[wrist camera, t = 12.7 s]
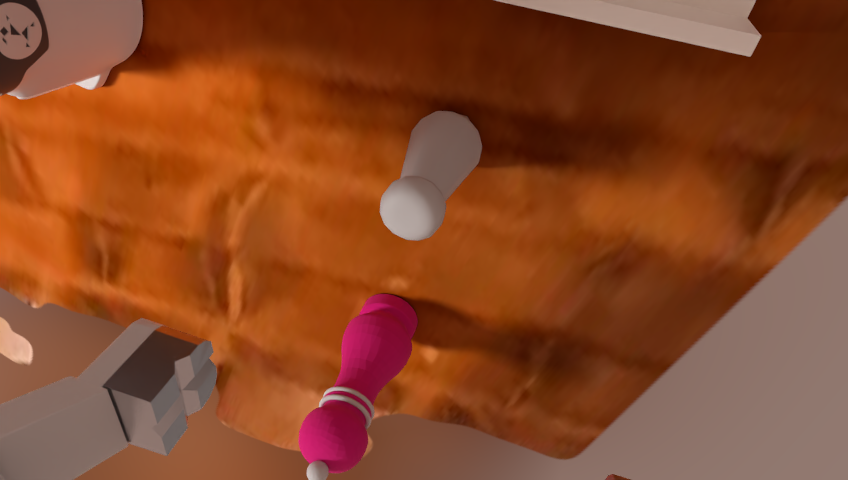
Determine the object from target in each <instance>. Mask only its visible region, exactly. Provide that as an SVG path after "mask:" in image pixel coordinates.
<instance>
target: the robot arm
mask: <svg viewBox="0 0 848 480" xmlns="http://www.w3.org/2000/svg"><path fill="white" fill-rule="evenodd" d="M142 27H143V9H142V1H141V0H0V96H2V95H4V94H9V95H12V96H16V97H17V98H19V99H29V98H33V97H36V96H39V95H42V94H45V93H48V92H51V91H54V90H57V89H60V88H63V87H66V86H69V85H72V84H77V85H79V86H81V87H83V88H86V89H89V90H92V89H96V88H99V87H101V86H103V85H104V83H105V81H106V80H107V77H108V75H109V72H110V70H111V69H112V68H113V67H114V66H116V65H118V64H119V63H121V62H123V61H125V60H126V59H127V58H128V57H130V56H131V54H132V53H133V52H134V50H135V49H136V47H137V45H138V43H139V40H140V37H141V33H142ZM212 353H213V348H212V344H211V341H208V340H205V339H202V338H199V337H196V336H193V335H190V334H187V333H184V332H181V331H178V330H175V329H172V328H169V327H167V326H165V325H161V324H158V323H155V322H152V321H149V320H146V319H143V318H141V319H139V320H137V321H135V322H133V323H132V324H131V325H130V326H129V327H128V328H127V329H126V330H125V331H124V332H123V333H122V334H120V335H119V336H118V338H117V339H115V340H114V341H113V342H112V343H111V344H110V345H109V346H108V347H107V348H106V349H105V350H104V351H103V352H102V353H101V354H100V355H99V356H98V357H97V358H96V359H95V360H94V361H93V362H92V363H91V364H90V365H89V366H88V367H87V368H86V369H85V370H84V371H83V372H82V373H81V374H80V375H79V376H78V377H77V378H75V377H72V376H69V377H66V378H64V379H61V380H59V381H57V382H55V383H52V384H49V385H47V386H45V387H42V388H40V389H37V390H35V391H32V392H30V393H27V394H25V395H22V396H20V397H18V398H15V399H13V400H10V401H8V402H5V403H3V404H1V405H0V480H73V479H75V478H77V477H78V476H80V475H81V474H83V473H85V472H86V471H88V470H89V469H91V468H93V467H95V466H96V465H98V464H99V463H101V462H103V461H104V460H106V459H108V458H109V457H111V456H113V455H114V454H116V453H117V452H119V451H121V450H122V449H124V448H126V447H127V446H128V443H129V444H132V445H136V446H138V447H141V448H144V449H147V450H150V451H153V452H156V453H160V454H162V455H165V456H167V455H168V454H169V453H170V451H171V450H172V448H173V447H174V446H175V444H176V443H177V442H178V440H179V439H180V438H181V436H182V435H183V434H184V432H185V431H186V429H187V428H188V416H189V415H191V414H193V413H195V412H197V411H199V410H201V409H202V407H203V406H204V404H205V403H206V402H207V400H208V399H209V397H210V395H211V393H212V390H213V388H214V386H215V383H216V376H217V372H216V366H215V365H214V363H213V362H212V361H211V360H210V359H209V357H210V356H211V355H212ZM605 480H630V479H627V478H623V477H621V476H617V475H614V474H611V475H608V477H607V478H606V479H605Z"/></svg>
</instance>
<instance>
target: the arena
mask: <svg viewBox="0 0 848 480" xmlns="http://www.w3.org/2000/svg"><path fill="white" fill-rule="evenodd" d="M495 1H499V2H504V3H508V4H513V5H517V6H522V7H526V8H531V9H535V10H540V11H544V12H549V13H554V14H558V15H563V16H567V17H572V18H576V19H581V20H585V21H590V22H594V23H599V24H603V25H608V26H613V27H617V28H622V29H626V30H631V31H635V32H640V33H644V34H649V35H653V36H658V37H662V38H667V39H671V40H676V41H681V42H685V43H690V44H694V45H699V46H703V47H708V48H712V49H717V50H721V51H726V52H730V53H735V54H740V55H744V56H749V57H751V55H752V53H753V51H754V49H755V47H756V46H757V44H758V42H759V40H760V38H761V35H760V33H759V32H758V31H757V30H756V28H755V27H754V26H753V25H752V23H751V22H750V21H749V20H748V16H749V14H750V12H751V10H752V8H753V6H754V4H755V2H756V0H495Z"/></svg>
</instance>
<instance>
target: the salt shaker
mask: <svg viewBox="0 0 848 480" xmlns="http://www.w3.org/2000/svg"><path fill="white" fill-rule="evenodd" d="M481 151H482V143H481V139H480V135H479V132H478V130H477V129H476V128H475V127H474V125H473V124H472V123H471V122H470V120H469V118H468V116H464V115H460V114H457V113H455V112H450V111H436V112H434V113H432V114H430V115H428V116H426V117H424V118H422V119H421V120H420V121H419V123H418V124H417V125H416V126H415V128H414V129H413V130H412V133H411V137H410V141H409V145H408V149H407V153H406V157H405V161H404V165H403V169H402V173H401V177H400V179H398V180H396V181H393V183H392V184H391V185H390V186H389V188H388V189H387V190H386V191H385V193H384V194H383V195H382V198H381V204H380V214H381V217H382V220H383V222H384V224H385V225H386V226H387V227H388V228H389V229H390V230H391V231H392V232H393V233H394V234H396V235H398V236H400V237H402V238H404V239H406V240H417V241H419V240H422V239H426V238H429V237H431V236H432V235H433V234H434V232H435V231H436V230H437V229H438V228H439V227H440V226H441V224H442V222H443V219H444V215H445V210H446V203H445V201H446V200H447V199H448V198H449V197H450V195H451V194H452V193H453V192H454V191H455V190H456V189H457V187H458V186H459V185H460V184H461V183H462V182H463V180H464V179H465V178H466V177H467V176H468V175H469V174H470V172H471V171H472V170H473V169H474V168H475V167H476V166H477V165H478V163H479V159H480V155H481Z"/></svg>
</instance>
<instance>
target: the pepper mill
mask: <svg viewBox="0 0 848 480" xmlns="http://www.w3.org/2000/svg"><path fill="white" fill-rule="evenodd" d="M417 324H418V319H417V315H416V313H415V311H414V309H413V308H412V307H411V306H410V305H409V304H408V303H407V302H406V301H404V300H403V299H401V298H399V297H397V296H394V295H390V294H377V295H374V296H372V297H370V298H369V299H368V300H367V301H366V302H365V304H364V306H363V308H362V310H361V312H360V314H359V316H357V317H355V318H354V319H352V321H351V322H350V323H349V324H348V326H347V328H346V331H345V333H344V335H343V341H342V366H341V371H340V374H339V376H338V379H337V381H336V383H335V385H334V386H333V387H332V388H330V389H328V390H327V391H326V392H325V393H324V395H323V398H322V399H321V401H320V403H319V408H316V409H314V410H313V411H312V412H310V413H309V414H308V415H307V417H306V418H305V420H304V421H303V423H302V426H301V429H300V431H299V447H300V450H301V452H302V454H303V456H304V458H305V459H306V460H307V461H308V462H309V463H310V465H309V466H308V469H307V477H308V479H309V480H325V479H326V478H327V476H328V473H341V472H345V471H347V470H350V469H351V468H352V467H354V466H355V465H356V464H357V463H358V462H359V461H360V460H361V458H362V456H363V455H364V453H365V451H366V448H367V444H368V435H367V431H366V429H367V428H368V427H369V426H370V424H371V420H372V418H373V417H374V407H373V403H374V400H375V399H376V397H377V395H378V393H379V392H380V390H381V389H382V388H383V387H384V386H385V385H386V384H387V383H388V382H389V381H390V380H391V379H392V378H394V377H395V376H396V375H397V374H398V373H399V372H400V371H401V370H402V368H403V367H404V366H405V365H406V363H407V361H408V359H409V357H410V355H411V351H412V343H411V339H412V337H413V335H414V332H415V330H416V327H417Z"/></svg>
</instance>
